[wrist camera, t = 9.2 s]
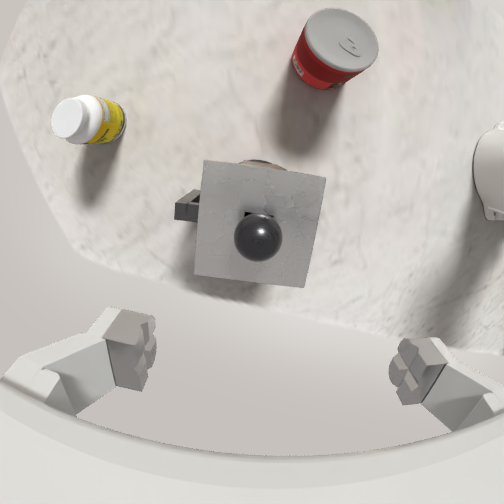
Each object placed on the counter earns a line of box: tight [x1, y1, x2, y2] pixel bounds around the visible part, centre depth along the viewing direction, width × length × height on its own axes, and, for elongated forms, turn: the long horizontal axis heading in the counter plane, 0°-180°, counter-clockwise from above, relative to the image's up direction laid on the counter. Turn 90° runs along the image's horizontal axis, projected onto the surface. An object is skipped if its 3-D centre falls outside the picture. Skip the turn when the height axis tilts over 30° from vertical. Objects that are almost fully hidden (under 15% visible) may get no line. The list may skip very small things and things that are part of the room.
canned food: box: [292, 8, 379, 89], centre depth 26 cm, size 8×8×11 cm
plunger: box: [234, 212, 283, 262], centre depth 28 cm, size 7×7×17 cm
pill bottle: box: [51, 95, 126, 144], centre depth 29 cm, size 6×6×11 cm
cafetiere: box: [174, 160, 326, 288], centre depth 31 cm, size 13×10×15 cm
